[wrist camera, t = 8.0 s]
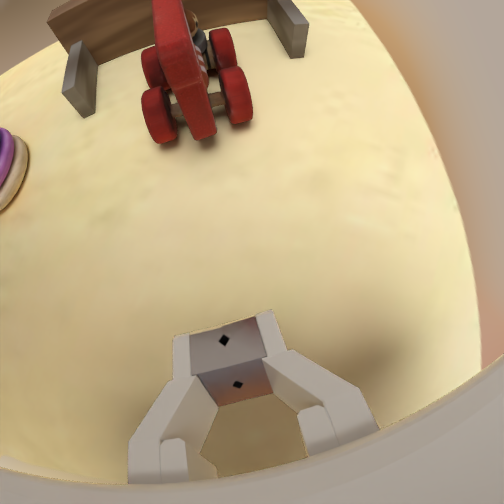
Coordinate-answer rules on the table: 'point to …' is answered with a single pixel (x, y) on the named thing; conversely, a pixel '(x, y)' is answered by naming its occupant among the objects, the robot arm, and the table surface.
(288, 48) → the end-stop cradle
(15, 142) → the stacking toy
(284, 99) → the table surface
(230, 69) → the toy fire truck
